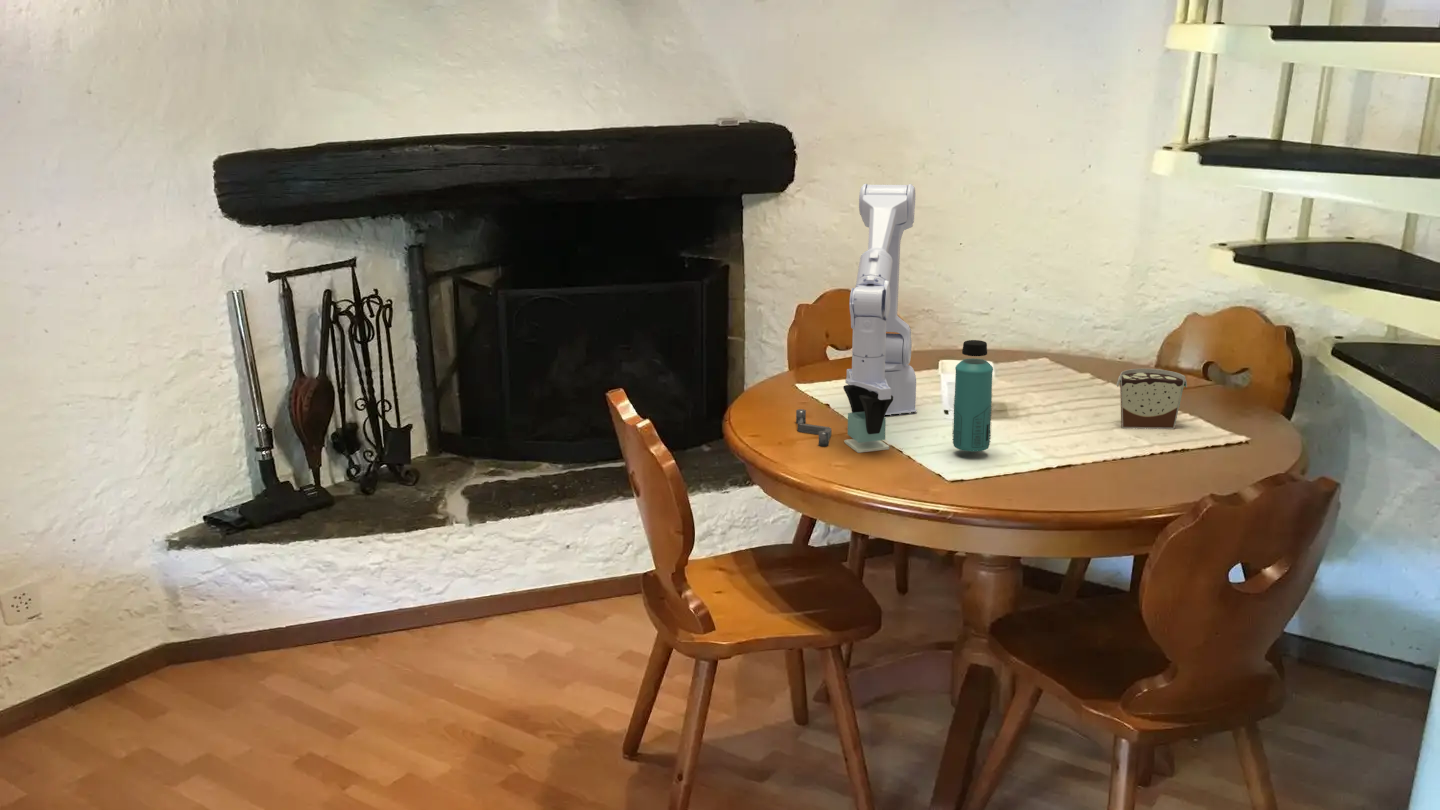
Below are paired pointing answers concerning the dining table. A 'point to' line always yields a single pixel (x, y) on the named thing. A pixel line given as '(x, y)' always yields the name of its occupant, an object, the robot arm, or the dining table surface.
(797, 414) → the grey zigzag bar
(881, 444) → the coaster
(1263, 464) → the dining table surface
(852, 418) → the hollow square tube
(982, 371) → the beverage bottle
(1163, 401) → the food container
